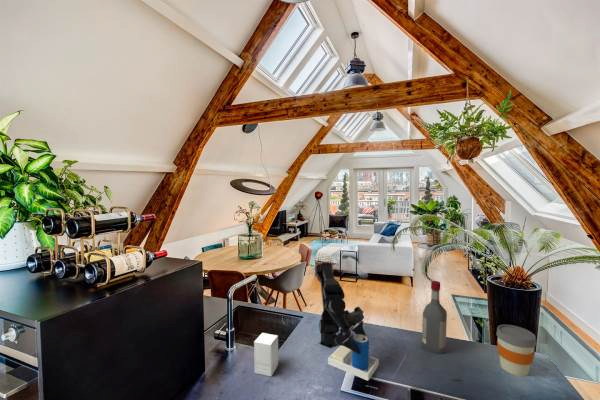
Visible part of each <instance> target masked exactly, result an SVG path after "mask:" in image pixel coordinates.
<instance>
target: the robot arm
mask: <svg viewBox="0 0 600 400" xmlns="http://www.w3.org/2000/svg"><path fill="white" fill-rule="evenodd" d="M314 274H315V275H316V279H317V280H318V282H319V283H320V290H321V299H322V300H321V302H322V309H323V310H322V314H321V316H320V319H319V322H318V330H319V333H320V342H319V343H318V344H319V345H321V346H324V347H326V348H329V349H332V348H334V347H335V346H345V347H347V348H349V349H351V350H352V351H354V352H356V353H358V354H360V353H361V351H360V349H359V348H358V346H357V345H356V343H355V342H354V340H353V338H354V334H355V335H357V334H362V335H365V336H367V334H366V332H365V330H364V323H365V322H364V319H365V316H364V310H362V308H361V307H360V306H356V307H355V308H354V309H353V311H352V312H350V311H349V310H347V309H346V307H347V306H346V302H345V300H344V299H345V296H346V295H345V292H344V289H343V288H342V286H341V284H340V282H339V281H338V280H337V279H335V276H334V269H333V264H332V263H331V262H320V264H317V265H315V267H314ZM352 332H353V333H354V334H352Z"/></svg>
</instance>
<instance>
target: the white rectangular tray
mask: <svg viewBox="0 0 600 400" xmlns="http://www.w3.org/2000/svg"><path fill="white" fill-rule="evenodd" d="M340 347H341V345H339V346H338V348H337V349H336V350H334V352H332V353H331V354H330V355H329V357H328V358H327V363H328V365H329V366H332V367H335V368H336V369H339V370H342V371H343V372H346V373H348V374H351V375H353V376H356V377H358V378H361V379H362V380H365V381H369V380H370V379H371V377H372V376H373V374H374V373H375V372H376V370H377V369H378V367H379V365H380V363H379V361H380V360H379V358H376V357H373V356H371V355H369V367H368V369H367V370H365V371H362V370H359V369H357V368H354V367H353V366H352V358H351V359H350V361H349V362H348V363H347V364H345V363H342V362H340V361H337V360H335V359H332V355H333V354H334V353H335V352H336V351H337V350H338V349H339V348H340Z"/></svg>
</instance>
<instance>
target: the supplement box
mask: <svg viewBox="0 0 600 400" xmlns="http://www.w3.org/2000/svg"><path fill="white" fill-rule="evenodd" d="M253 346H254V347H253V351H254V352H253V353H254V354H253V357H254V358H253V360H254V362H253V363H254V364H253V365H254V374H256V375H257V374H258V375H262V376H265V377H266V376H267V377H272V376H273V375H274V373H275V371H276V370H277V368H278V366H279V335H277V334H272V333H271V334H270V333H266V332H261V334H259V336H258V337H257V338H255V340H254V341H253Z"/></svg>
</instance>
